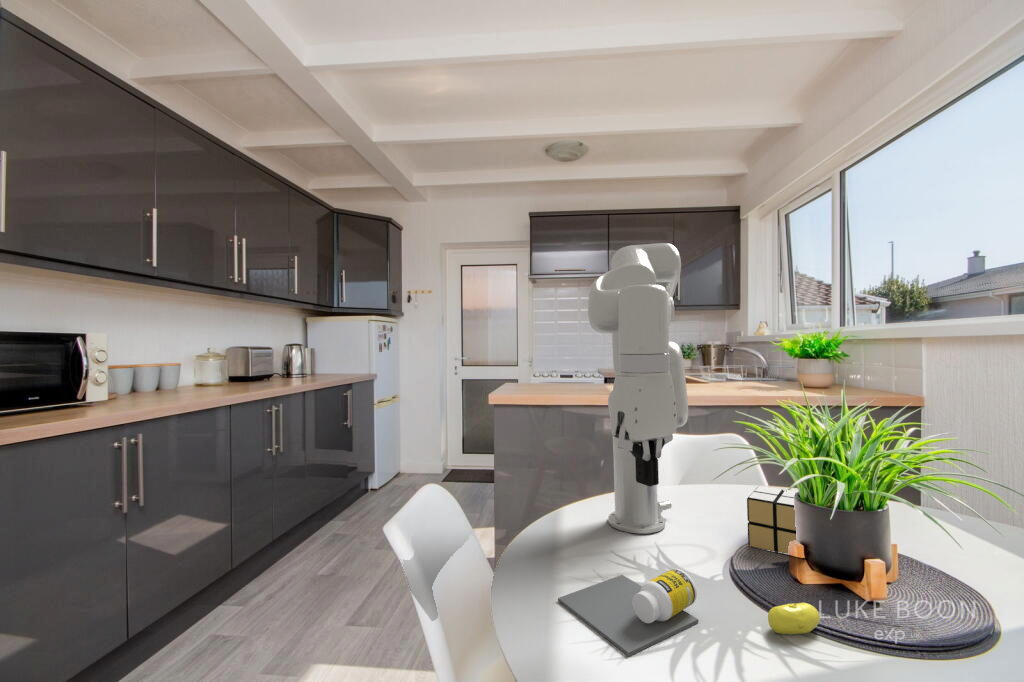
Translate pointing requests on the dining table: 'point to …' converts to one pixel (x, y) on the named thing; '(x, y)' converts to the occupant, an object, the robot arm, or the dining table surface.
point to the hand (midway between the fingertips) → (647, 483)
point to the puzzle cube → (771, 519)
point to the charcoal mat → (622, 615)
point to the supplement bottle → (664, 596)
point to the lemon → (793, 618)
